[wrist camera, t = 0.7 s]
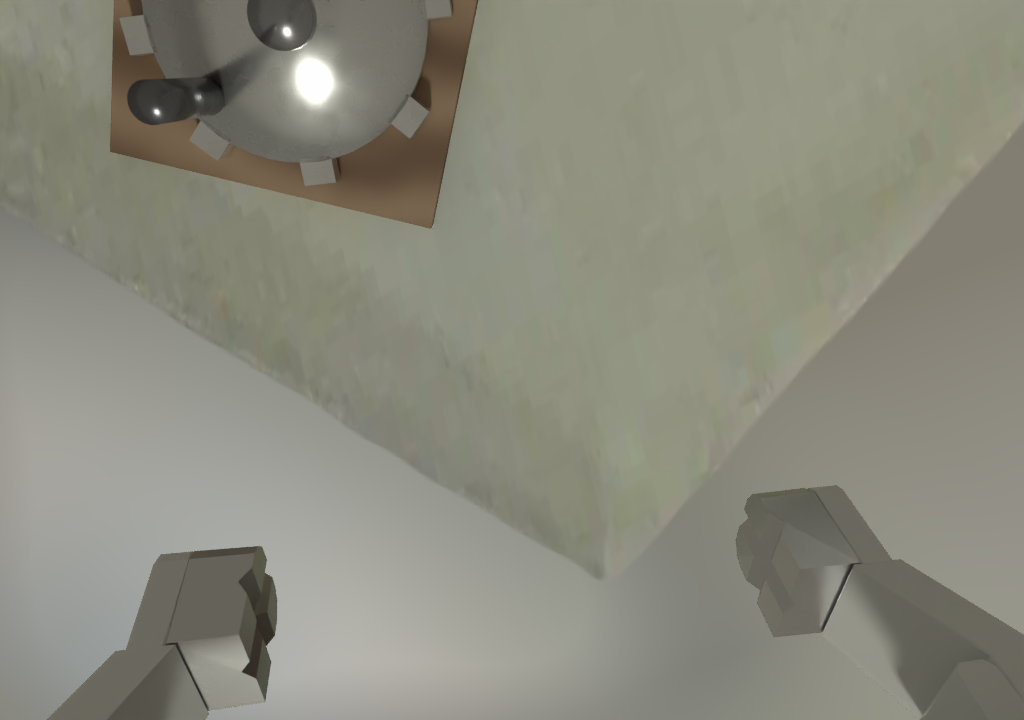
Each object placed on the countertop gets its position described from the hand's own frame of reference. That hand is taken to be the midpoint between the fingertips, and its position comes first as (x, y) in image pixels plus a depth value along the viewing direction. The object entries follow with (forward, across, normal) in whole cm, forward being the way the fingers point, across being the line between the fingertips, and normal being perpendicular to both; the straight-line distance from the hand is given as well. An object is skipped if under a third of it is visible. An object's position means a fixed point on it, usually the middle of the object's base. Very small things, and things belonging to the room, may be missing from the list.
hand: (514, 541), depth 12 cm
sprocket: (+44, +8, 0) cm, 45 cm away
